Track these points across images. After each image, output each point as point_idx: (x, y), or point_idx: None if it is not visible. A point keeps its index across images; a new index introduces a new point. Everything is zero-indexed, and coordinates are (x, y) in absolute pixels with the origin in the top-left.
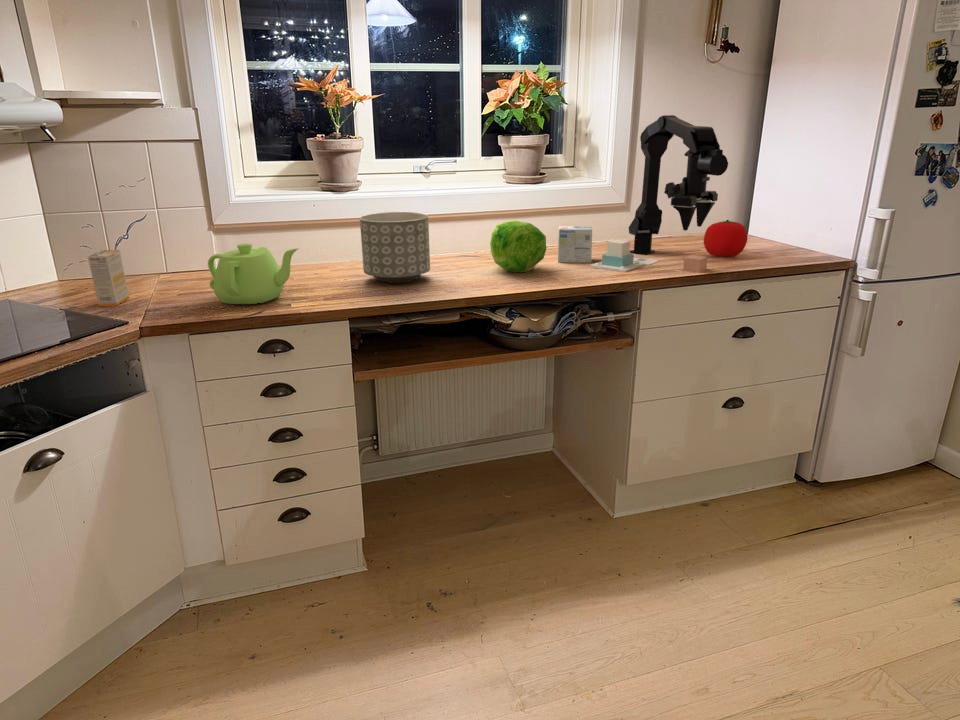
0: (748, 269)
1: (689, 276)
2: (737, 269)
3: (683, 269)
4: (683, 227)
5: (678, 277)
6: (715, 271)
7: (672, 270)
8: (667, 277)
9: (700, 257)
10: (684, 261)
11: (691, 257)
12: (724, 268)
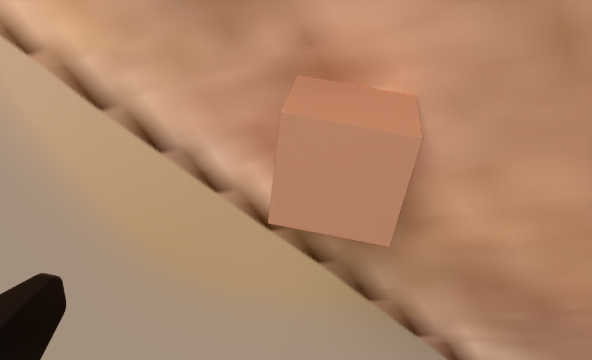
0: (483, 357)
1: (158, 147)
2: (463, 320)
3: (297, 78)
4: (6, 301)
5: (94, 99)
6: None
7: (256, 6)
8: (47, 39)
9: (347, 211)
10: (286, 103)
11: (313, 158)
12: (467, 270)
